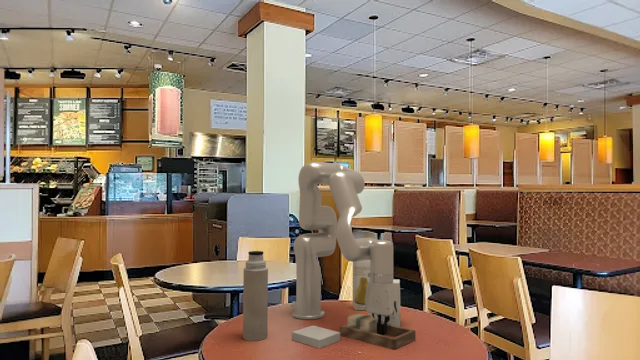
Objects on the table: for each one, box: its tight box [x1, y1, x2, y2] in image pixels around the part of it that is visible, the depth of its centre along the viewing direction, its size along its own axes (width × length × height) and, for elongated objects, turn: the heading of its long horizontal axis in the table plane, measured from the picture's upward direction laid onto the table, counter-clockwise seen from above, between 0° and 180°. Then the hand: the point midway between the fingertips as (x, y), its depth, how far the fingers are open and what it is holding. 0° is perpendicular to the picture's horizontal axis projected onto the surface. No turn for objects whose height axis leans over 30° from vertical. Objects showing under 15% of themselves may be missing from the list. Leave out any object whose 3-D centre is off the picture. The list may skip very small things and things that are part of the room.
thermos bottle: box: [242, 250, 269, 342], centre depth 146 cm, size 8×8×28 cm
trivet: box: [291, 325, 341, 349], centre depth 142 cm, size 12×10×2 cm
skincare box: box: [387, 278, 401, 327], centre depth 161 cm, size 8×7×16 cm
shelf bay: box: [339, 324, 416, 350], centre depth 145 cm, size 21×12×3 cm, turn 48°
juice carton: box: [352, 260, 370, 311], centre depth 183 cm, size 9×8×24 cm
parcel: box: [346, 313, 377, 334], centre depth 149 cm, size 9×6×6 cm
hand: (381, 334), depth 144 cm, fingers closed
